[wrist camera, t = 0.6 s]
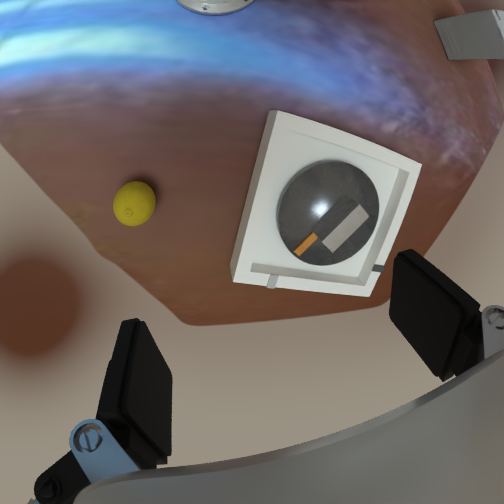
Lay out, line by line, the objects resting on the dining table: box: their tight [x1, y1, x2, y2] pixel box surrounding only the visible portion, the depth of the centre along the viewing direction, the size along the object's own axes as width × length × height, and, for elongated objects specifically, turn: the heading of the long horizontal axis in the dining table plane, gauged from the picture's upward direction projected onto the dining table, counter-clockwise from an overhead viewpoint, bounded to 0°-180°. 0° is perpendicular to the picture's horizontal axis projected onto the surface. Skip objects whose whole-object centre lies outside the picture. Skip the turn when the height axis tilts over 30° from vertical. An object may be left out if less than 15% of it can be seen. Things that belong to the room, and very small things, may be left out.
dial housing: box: [230, 110, 422, 297], centre depth 42 cm, size 24×24×5 cm
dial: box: [276, 160, 379, 266], centre depth 40 cm, size 16×16×6 cm
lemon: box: [113, 181, 156, 226], centre depth 36 cm, size 6×6×8 cm
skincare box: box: [433, 10, 504, 60], centre depth 26 cm, size 8×7×16 cm
